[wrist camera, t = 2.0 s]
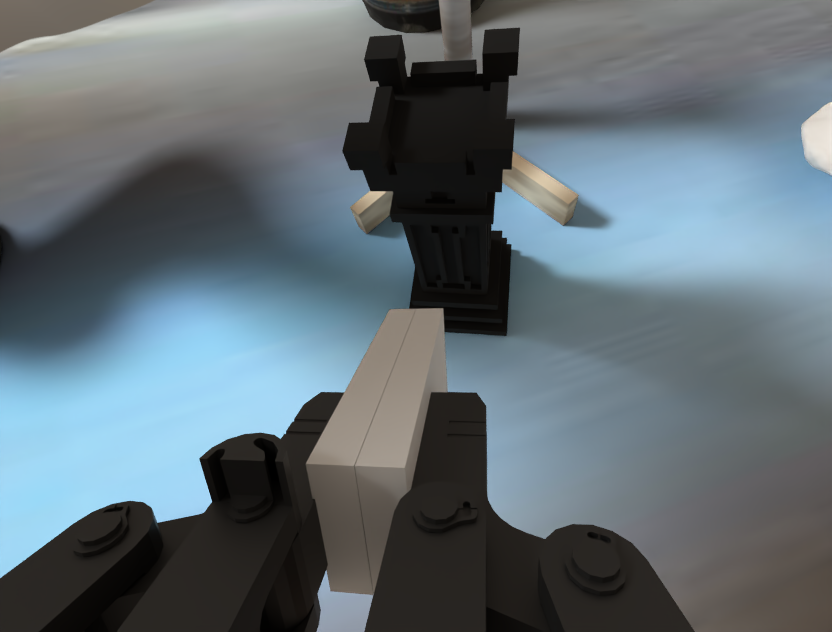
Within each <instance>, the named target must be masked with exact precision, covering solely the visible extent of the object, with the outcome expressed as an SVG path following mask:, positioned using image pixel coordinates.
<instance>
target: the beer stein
mask: <svg viewBox="0 0 832 632" xmlns="http://www.w3.org/2000/svg"><path fill="white" fill-rule="evenodd" d="M483 1H484V0H470V7H471V13H473V12H474V11H475V10H477V9H478V8H479V7H480V5H481V4H482V2H483ZM363 2H364V4H365V6H366V8H367V11H368V13H369V15H370V17H371V18H372V19H374V20H375V21H376V22H378V23H379V24H380V25H382V26H383V27H384V28H388V29H392V30H396V31H400V32H404V33H415V32H428V31H433V30H438V29H441V28H442V26H441V16H440V6H439V0H363Z"/></svg>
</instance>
